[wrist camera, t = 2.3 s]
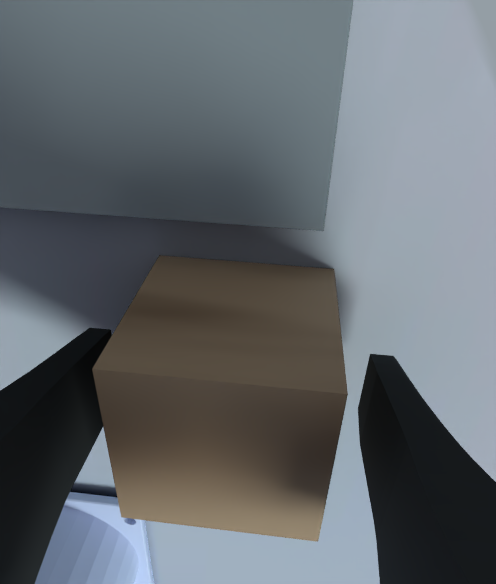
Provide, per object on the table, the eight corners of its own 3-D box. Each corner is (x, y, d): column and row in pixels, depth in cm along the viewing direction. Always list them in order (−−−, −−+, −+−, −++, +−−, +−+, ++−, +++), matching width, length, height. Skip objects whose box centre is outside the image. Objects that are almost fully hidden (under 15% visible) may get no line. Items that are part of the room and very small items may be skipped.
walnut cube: (314, 396, 16) (317, 541, 11) (170, 381, 16) (121, 517, 12) (334, 267, 13) (347, 394, 9) (160, 254, 13) (92, 368, 9)
